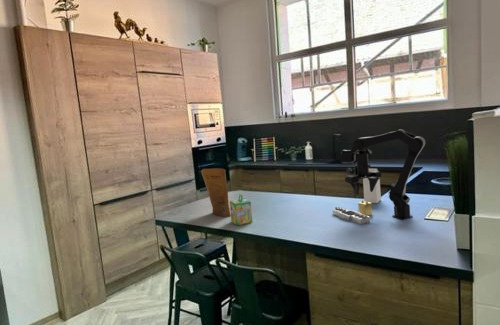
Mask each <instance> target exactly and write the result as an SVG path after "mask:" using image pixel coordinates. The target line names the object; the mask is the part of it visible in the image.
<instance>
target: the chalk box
mask: <svg viewBox="0 0 500 325" xmlns="http://www.w3.org/2000/svg"><path fill="white" fill-rule="evenodd" d="M229 210H230V215H231V216H230V219H231V222H232V223H233V224H235V226H241V225H246V224H252V223H253V214H252V202H251V200H249V199H247V198H243V194H241V193H240V194H239V195H238V199H234V200H230V201H229ZM251 222H252V223H251Z"/></svg>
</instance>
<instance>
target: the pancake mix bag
mask: <svg viewBox="0 0 500 325" xmlns="http://www.w3.org/2000/svg"><path fill="white" fill-rule="evenodd" d="M200 173H201V175H202V178H203V181H204V183H205V187H206V190H207V193H208V197H209V201H210V204H211V207H212V213H211V214H212V215H214V216H217V217H218V216H220V217H223V218H226V217H227V218H228V217H231V211H230V201H229V192H228V191H229V190H228V183H227V175H226V169H224V168H219V167H218V168H217V167H216V168H202V170H201V172H200Z"/></svg>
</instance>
